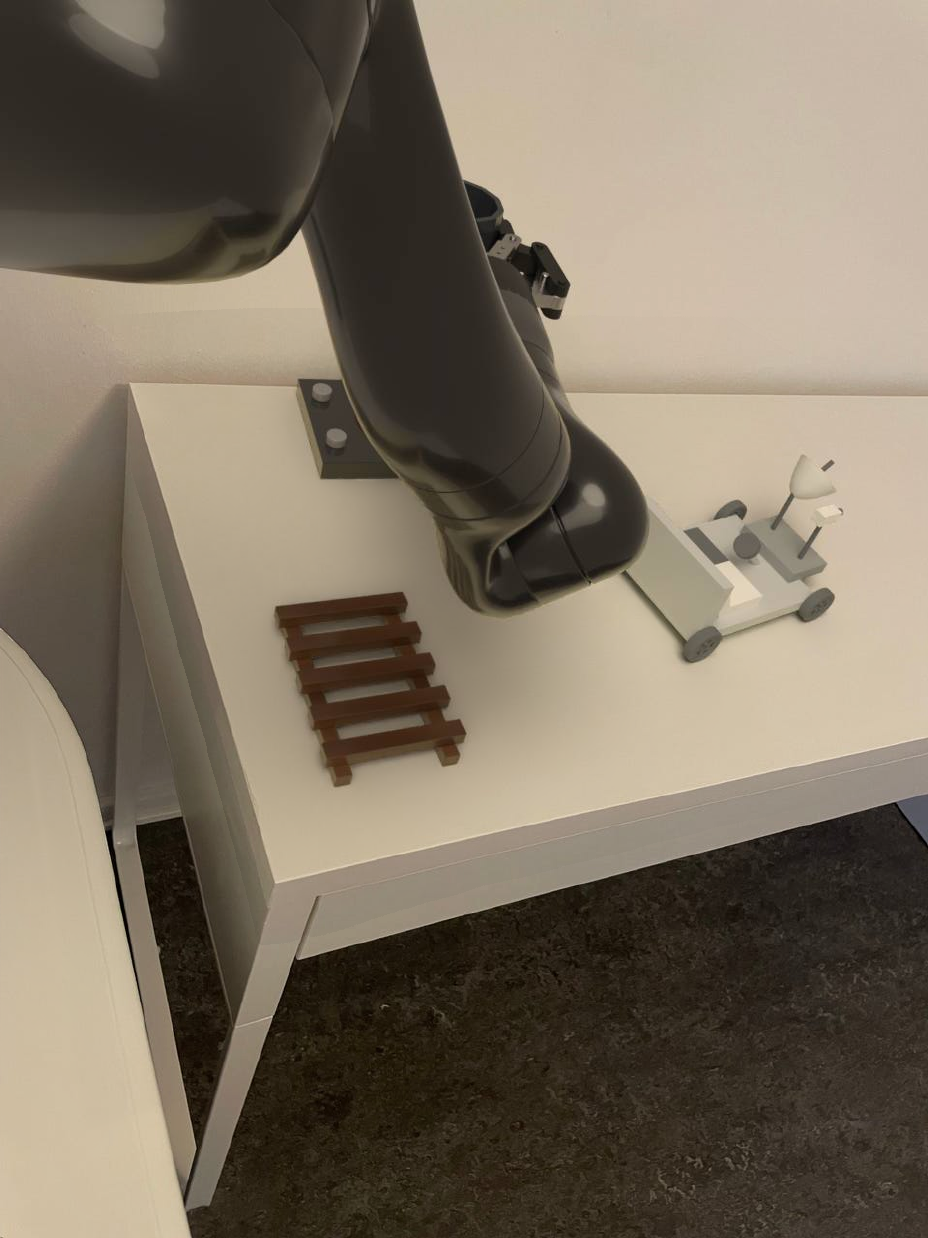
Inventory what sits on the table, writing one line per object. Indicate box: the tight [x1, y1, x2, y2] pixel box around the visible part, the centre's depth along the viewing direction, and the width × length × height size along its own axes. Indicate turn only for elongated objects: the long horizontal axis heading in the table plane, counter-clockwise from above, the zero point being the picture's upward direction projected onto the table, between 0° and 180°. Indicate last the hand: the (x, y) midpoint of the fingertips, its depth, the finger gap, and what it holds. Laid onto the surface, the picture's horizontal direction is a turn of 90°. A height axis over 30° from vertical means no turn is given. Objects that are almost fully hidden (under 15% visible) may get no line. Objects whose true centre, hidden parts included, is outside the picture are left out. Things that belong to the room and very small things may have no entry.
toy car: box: [625, 453, 844, 663], centre depth 79 cm, size 18×10×12 cm
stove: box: [295, 378, 400, 480], centre depth 86 cm, size 16×11×2 cm
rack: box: [273, 591, 467, 788], centre depth 66 cm, size 14×9×2 cm, turn 21°
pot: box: [463, 179, 505, 252], centre depth 75 cm, size 12×6×9 cm, turn 9°
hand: (444, 216), depth 74 cm, fingers closed on pot, 6 cm apart
